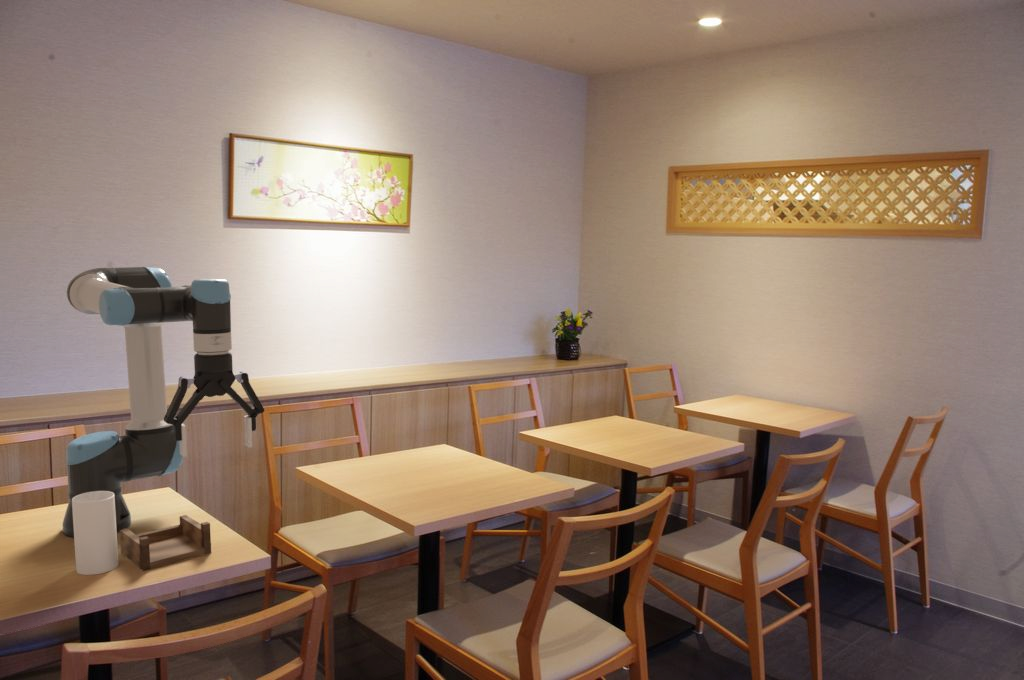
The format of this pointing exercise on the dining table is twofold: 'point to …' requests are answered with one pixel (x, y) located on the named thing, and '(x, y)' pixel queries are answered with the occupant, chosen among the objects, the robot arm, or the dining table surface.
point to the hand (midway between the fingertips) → (216, 450)
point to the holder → (166, 544)
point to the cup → (95, 532)
